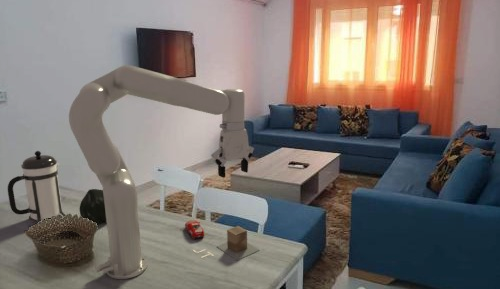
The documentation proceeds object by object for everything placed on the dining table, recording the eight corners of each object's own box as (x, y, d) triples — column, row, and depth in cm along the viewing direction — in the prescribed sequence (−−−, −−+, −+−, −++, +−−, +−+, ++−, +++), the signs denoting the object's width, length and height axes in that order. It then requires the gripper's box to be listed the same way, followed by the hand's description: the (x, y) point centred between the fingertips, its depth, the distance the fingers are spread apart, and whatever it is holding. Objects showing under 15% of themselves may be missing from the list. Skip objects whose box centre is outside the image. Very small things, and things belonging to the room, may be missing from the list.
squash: (128, 201, 162) (102, 177, 159) (115, 216, 148) (87, 190, 145) (106, 220, 165) (81, 197, 162) (92, 237, 150) (64, 212, 147)
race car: (184, 226, 149) (183, 217, 148) (197, 224, 151) (196, 215, 150) (191, 241, 137) (191, 231, 136) (205, 238, 139) (205, 228, 138)
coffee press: (38, 211, 165) (28, 146, 158) (73, 211, 165) (64, 146, 158) (12, 228, 149) (0, 157, 142) (51, 228, 148) (40, 157, 141)
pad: (237, 260, 124) (237, 259, 123) (216, 247, 132) (216, 246, 132) (259, 250, 130) (259, 249, 130) (238, 238, 139) (238, 237, 139)
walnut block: (236, 253, 128) (235, 235, 126) (227, 247, 131) (227, 229, 130) (247, 248, 131) (247, 230, 129) (238, 243, 134) (238, 225, 133)
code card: (201, 264, 121) (201, 264, 121) (182, 250, 130) (182, 250, 130) (223, 255, 127) (223, 254, 127) (204, 242, 136) (204, 242, 136)
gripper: (218, 130, 116) (218, 181, 120) (259, 125, 127) (259, 172, 131) (205, 127, 122) (206, 176, 126) (246, 122, 133) (246, 167, 136)
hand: (233, 174), depth 128 cm, fingers open, 9 cm apart
